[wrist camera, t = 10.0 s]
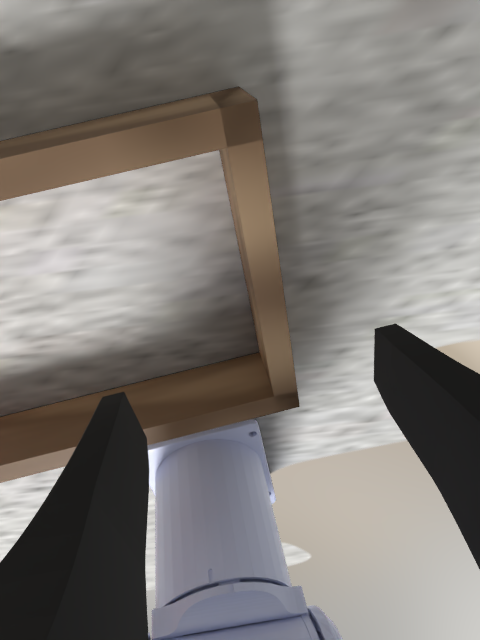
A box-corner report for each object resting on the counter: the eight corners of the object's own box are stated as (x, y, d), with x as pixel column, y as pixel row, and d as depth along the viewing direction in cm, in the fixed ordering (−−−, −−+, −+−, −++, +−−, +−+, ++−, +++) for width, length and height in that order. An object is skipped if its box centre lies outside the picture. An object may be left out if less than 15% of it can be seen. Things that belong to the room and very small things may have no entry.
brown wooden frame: (282, 362, 24) (299, 406, 22) (-10, 435, 24) (-32, 490, 21) (238, 86, 16) (257, 99, 13) (-216, 190, 15) (-298, 227, 13)
